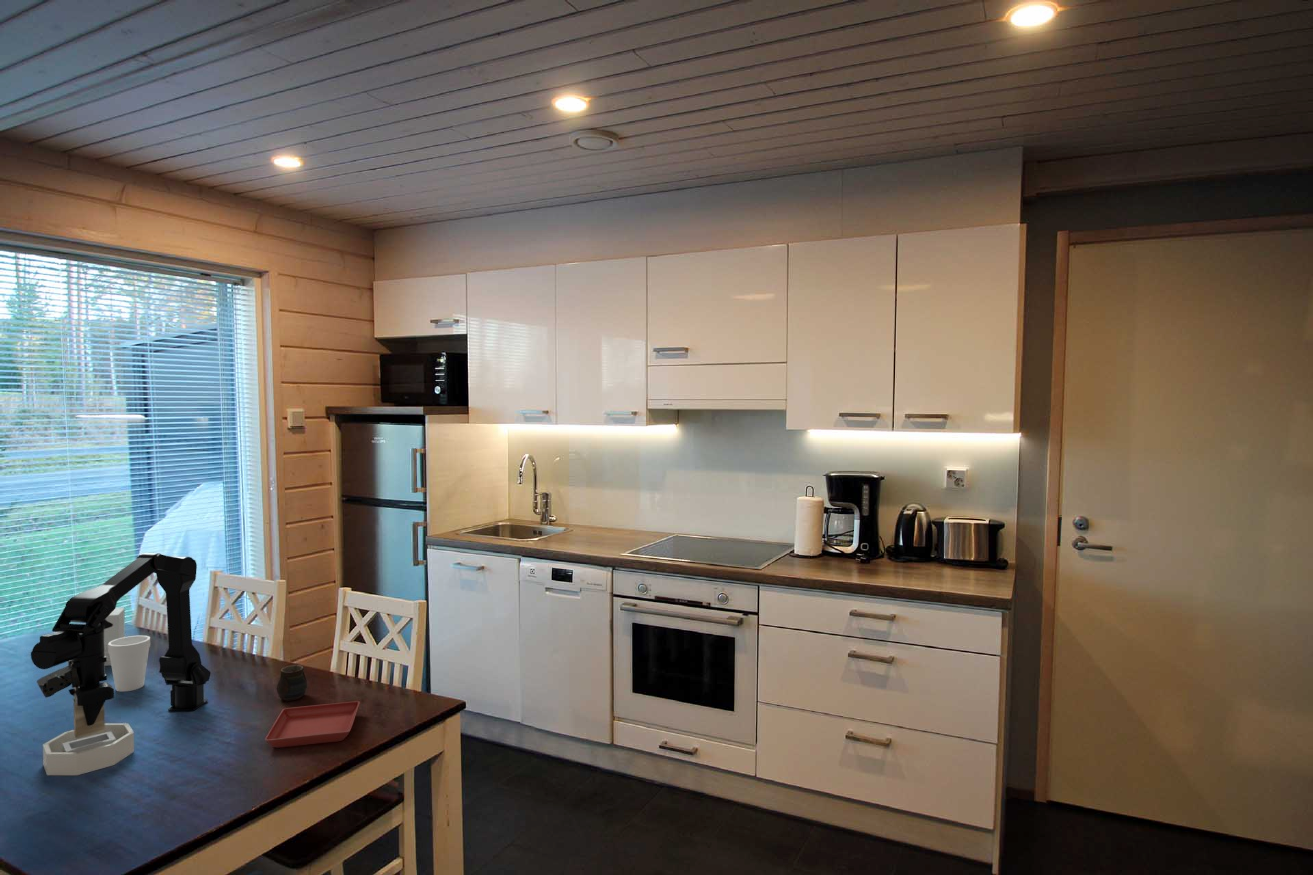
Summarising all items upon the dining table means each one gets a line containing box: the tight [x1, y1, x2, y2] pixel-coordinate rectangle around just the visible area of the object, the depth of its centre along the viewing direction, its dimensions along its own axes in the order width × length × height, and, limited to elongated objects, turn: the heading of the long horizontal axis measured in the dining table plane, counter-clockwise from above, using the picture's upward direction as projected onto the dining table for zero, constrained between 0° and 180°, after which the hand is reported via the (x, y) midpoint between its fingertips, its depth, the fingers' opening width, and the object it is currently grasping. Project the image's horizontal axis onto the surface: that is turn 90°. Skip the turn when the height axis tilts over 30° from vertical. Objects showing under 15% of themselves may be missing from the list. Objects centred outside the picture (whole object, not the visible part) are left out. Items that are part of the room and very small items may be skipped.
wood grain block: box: [73, 694, 106, 738], centre depth 158 cm, size 2×5×9 cm, turn 136°
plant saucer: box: [264, 700, 361, 749], centre depth 173 cm, size 18×18×3 cm
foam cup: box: [108, 635, 151, 692], centre depth 199 cm, size 10×9×13 cm
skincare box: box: [104, 606, 126, 667], centre depth 218 cm, size 8×7×16 cm
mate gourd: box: [276, 664, 308, 702], centre depth 193 cm, size 7×8×10 cm
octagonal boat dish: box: [42, 722, 135, 776], centre depth 158 cm, size 15×15×4 cm
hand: (89, 723), depth 158 cm, fingers closed on wood grain block, 2 cm apart
